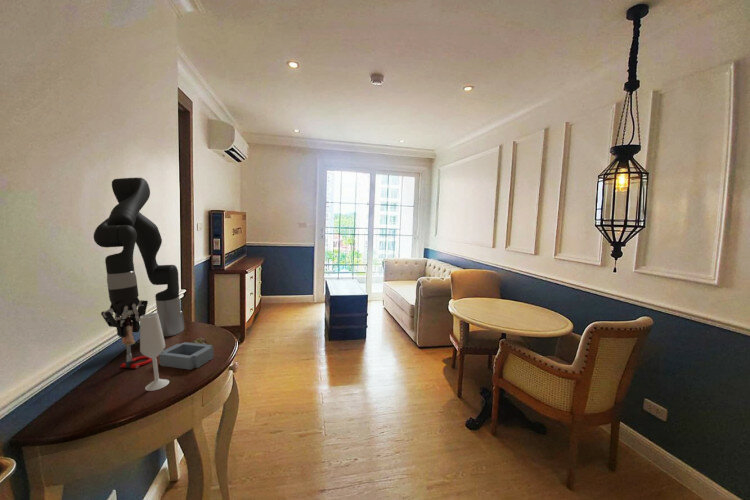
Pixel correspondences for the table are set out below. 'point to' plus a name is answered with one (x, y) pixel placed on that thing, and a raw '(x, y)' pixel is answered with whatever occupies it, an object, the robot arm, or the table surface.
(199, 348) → the well block
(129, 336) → the grandmother figurine
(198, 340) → the mineral rock
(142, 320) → the champagne flute
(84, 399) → the table surface
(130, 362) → the tow hook
